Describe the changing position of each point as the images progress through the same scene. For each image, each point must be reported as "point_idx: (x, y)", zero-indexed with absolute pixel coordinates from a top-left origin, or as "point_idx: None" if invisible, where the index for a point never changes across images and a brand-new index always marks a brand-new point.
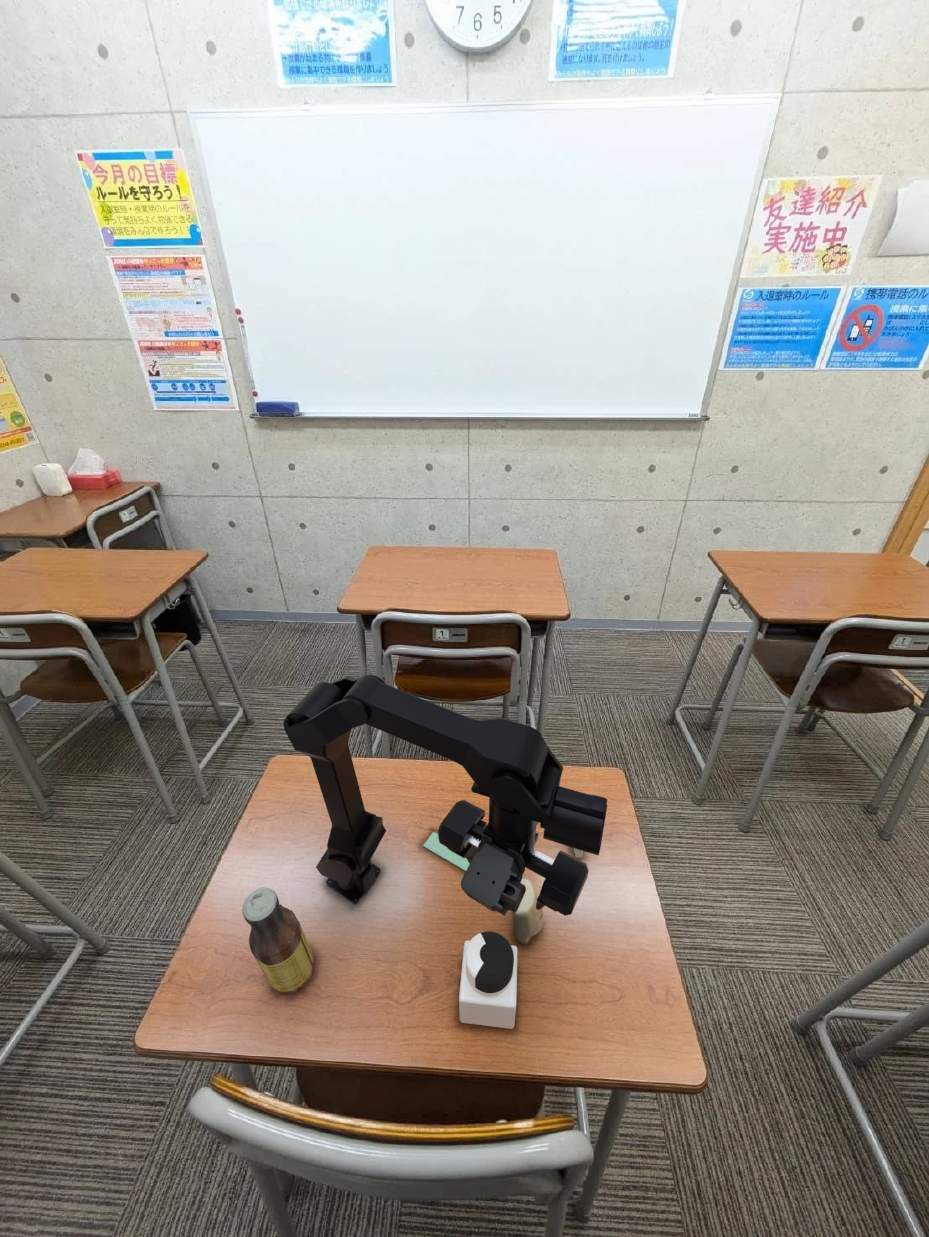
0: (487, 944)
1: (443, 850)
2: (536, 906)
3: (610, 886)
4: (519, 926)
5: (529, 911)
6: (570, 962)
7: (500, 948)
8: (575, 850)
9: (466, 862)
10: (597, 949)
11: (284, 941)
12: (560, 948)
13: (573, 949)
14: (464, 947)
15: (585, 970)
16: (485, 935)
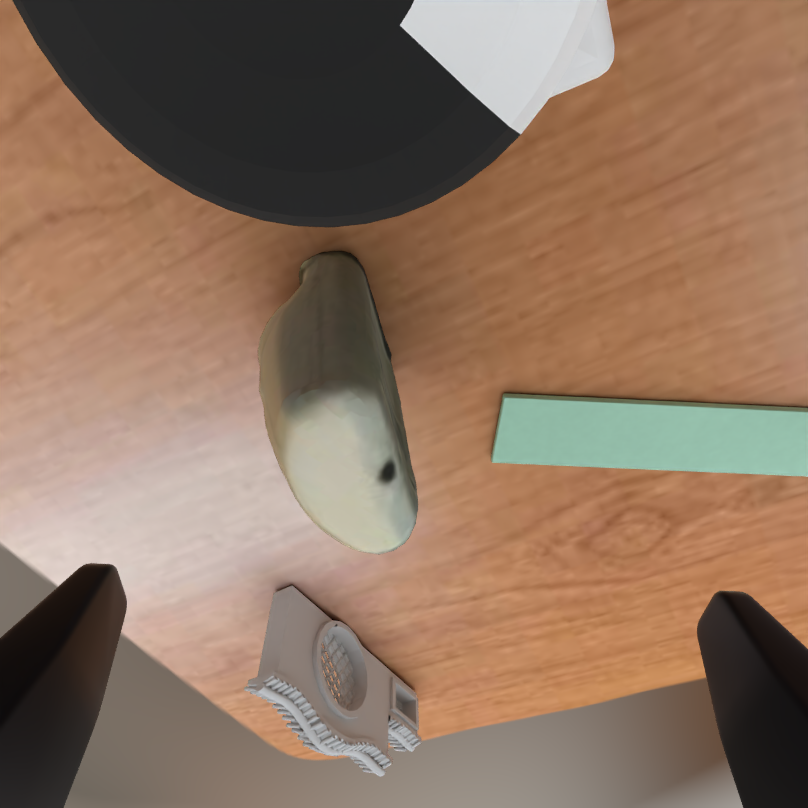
0: (374, 28)
1: (798, 434)
2: (71, 616)
3: (146, 553)
4: (326, 323)
5: (281, 431)
6: (109, 279)
7: (204, 70)
8: (299, 610)
9: (681, 433)
10: (55, 368)
11: None
12: (174, 309)
13: (129, 329)
14: (605, 10)
15: (42, 280)
16: (448, 129)
